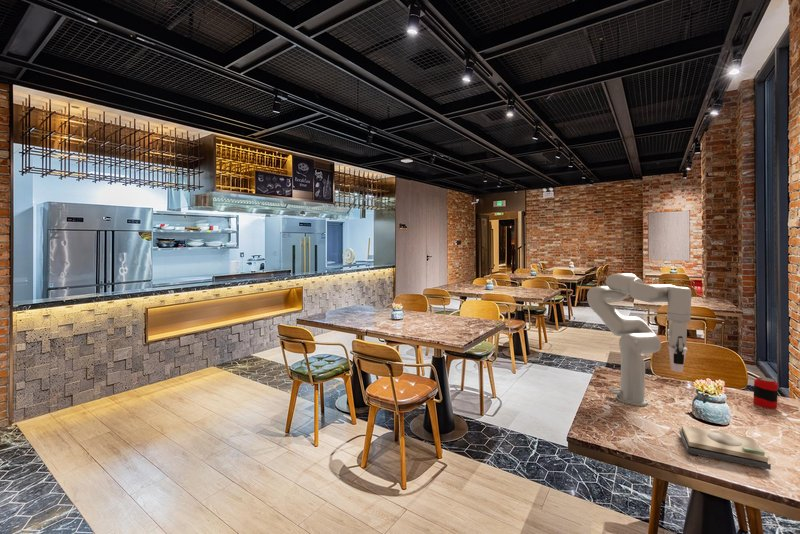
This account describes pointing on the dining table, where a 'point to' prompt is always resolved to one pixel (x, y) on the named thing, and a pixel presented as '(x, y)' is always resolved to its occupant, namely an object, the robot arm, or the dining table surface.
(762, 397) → the soda can
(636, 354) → the robot arm
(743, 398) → the dining table surface
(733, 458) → the stand base
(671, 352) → the smoothie
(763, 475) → the dining table surface
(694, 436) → the stand top
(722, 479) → the dining table surface
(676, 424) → the dining table surface
